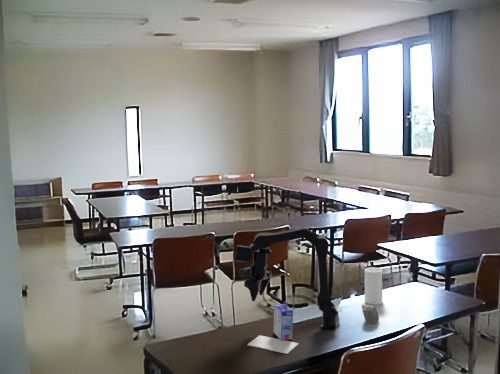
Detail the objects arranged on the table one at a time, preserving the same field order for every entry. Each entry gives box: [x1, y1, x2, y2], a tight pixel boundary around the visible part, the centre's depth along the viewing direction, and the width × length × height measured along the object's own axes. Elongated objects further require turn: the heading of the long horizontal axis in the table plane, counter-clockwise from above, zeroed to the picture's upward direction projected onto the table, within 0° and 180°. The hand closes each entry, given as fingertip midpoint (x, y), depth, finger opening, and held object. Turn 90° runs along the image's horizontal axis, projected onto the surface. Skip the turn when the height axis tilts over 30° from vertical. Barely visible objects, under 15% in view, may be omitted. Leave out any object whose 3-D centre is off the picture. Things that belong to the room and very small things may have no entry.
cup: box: [364, 266, 383, 306], centre depth 257 cm, size 8×8×16 cm
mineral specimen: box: [361, 304, 380, 325], centre depth 232 cm, size 7×9×8 cm
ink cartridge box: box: [273, 300, 294, 341], centre depth 220 cm, size 10×6×14 cm, turn 15°
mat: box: [246, 334, 299, 355], centre depth 213 cm, size 10×18×1 cm, turn 59°
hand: (257, 298), depth 229 cm, fingers open, 9 cm apart
